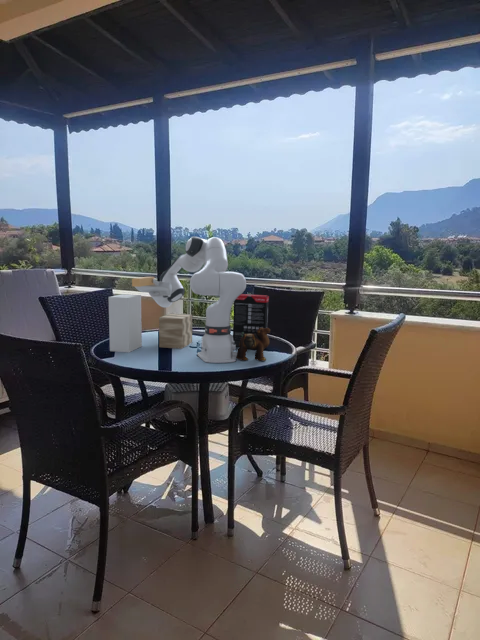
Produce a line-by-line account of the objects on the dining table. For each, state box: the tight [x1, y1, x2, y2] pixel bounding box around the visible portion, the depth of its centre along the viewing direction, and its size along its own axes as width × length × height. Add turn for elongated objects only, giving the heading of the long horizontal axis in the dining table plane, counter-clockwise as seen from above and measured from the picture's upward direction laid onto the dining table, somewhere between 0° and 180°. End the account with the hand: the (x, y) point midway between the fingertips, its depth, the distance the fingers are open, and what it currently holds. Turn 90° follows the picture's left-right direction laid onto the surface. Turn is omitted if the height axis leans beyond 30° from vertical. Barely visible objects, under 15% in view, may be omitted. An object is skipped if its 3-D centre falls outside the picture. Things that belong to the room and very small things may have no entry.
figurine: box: [236, 327, 271, 362], centre depth 197 cm, size 9×15×15 cm, turn 84°
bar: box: [131, 276, 155, 288], centre depth 229 cm, size 19×4×4 cm, turn 168°
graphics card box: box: [232, 293, 270, 351], centre depth 221 cm, size 17×7×27 cm, turn 76°
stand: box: [108, 293, 143, 353], centre depth 213 cm, size 14×10×26 cm
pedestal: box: [158, 313, 193, 350], centre depth 226 cm, size 16×12×15 cm
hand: (148, 280), depth 235 cm, fingers closed on bar, 4 cm apart
